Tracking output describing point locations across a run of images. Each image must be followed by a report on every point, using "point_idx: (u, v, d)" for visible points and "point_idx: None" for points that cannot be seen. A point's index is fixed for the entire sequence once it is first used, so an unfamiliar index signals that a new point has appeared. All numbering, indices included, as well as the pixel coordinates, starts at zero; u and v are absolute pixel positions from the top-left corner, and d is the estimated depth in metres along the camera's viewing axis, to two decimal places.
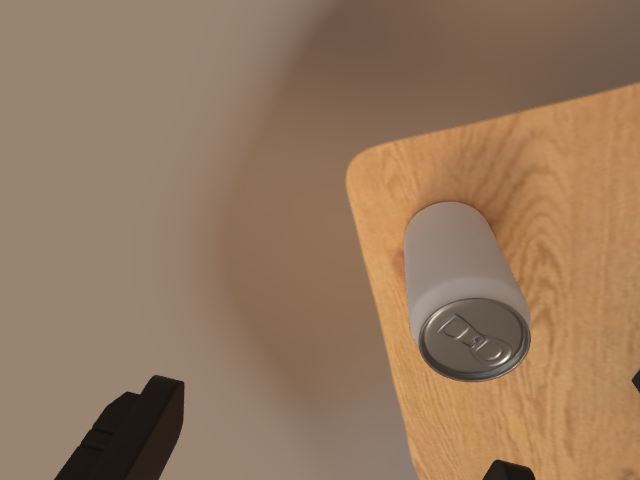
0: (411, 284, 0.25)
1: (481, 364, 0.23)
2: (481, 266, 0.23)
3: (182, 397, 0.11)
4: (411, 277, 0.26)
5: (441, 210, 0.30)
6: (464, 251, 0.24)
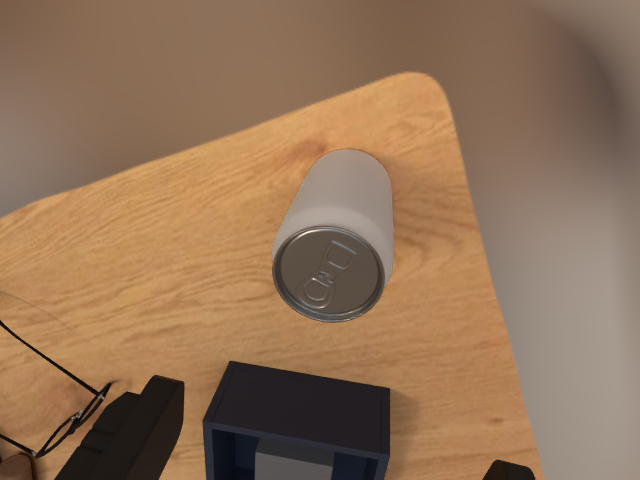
0: (348, 190, 0.23)
1: (296, 287, 0.22)
2: None
3: (182, 397, 0.11)
4: (351, 186, 0.23)
5: (390, 185, 0.29)
6: (392, 233, 0.24)
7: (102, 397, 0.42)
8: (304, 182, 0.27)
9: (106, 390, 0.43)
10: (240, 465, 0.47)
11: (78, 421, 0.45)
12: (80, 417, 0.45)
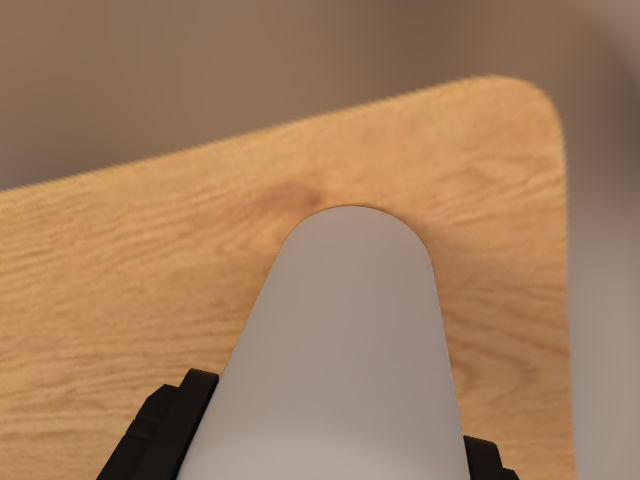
0: (375, 356, 0.09)
1: None
2: None
3: None
4: (379, 337, 0.10)
5: (435, 284, 0.16)
6: None
7: None
8: (274, 282, 0.13)
9: None
10: None
11: None
12: None
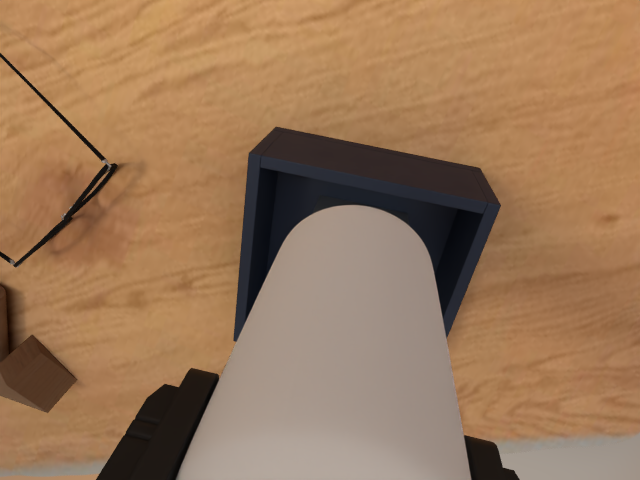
0: (375, 355, 0.09)
1: None
2: None
3: None
4: (379, 336, 0.10)
5: None
6: None
7: (107, 163, 0.32)
8: (274, 280, 0.13)
9: (112, 165, 0.34)
10: None
11: None
12: None
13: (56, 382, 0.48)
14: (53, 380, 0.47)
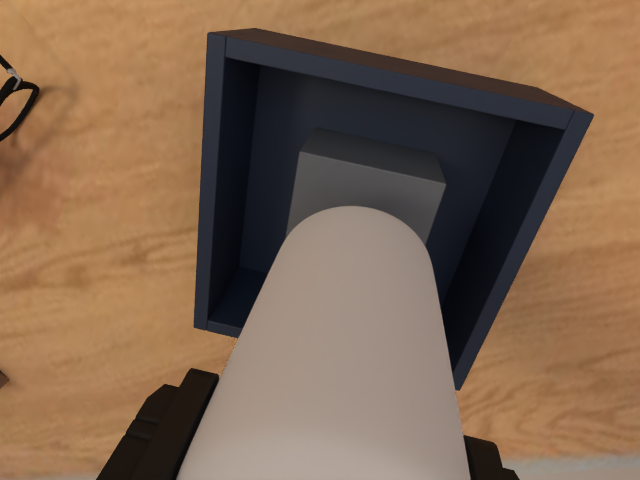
0: (375, 356, 0.09)
1: None
2: None
3: None
4: (379, 337, 0.10)
5: (435, 284, 0.15)
6: None
7: (15, 75, 0.23)
8: (274, 281, 0.13)
9: (27, 83, 0.24)
10: (247, 264, 0.29)
11: None
12: None
13: None
14: None
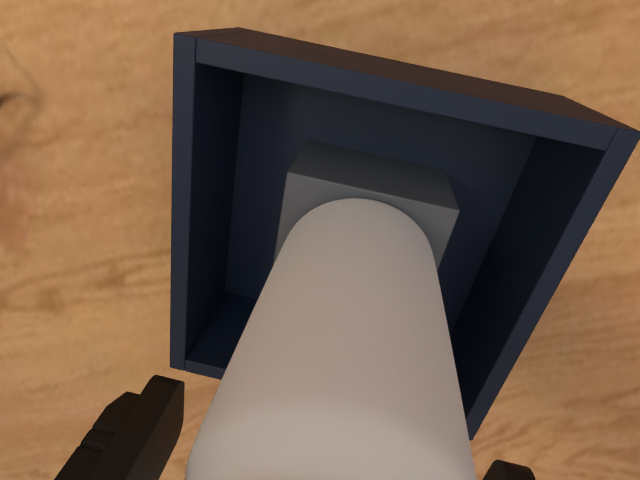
0: (380, 336, 0.10)
1: None
2: None
3: (182, 397, 0.11)
4: (384, 319, 0.10)
5: (437, 274, 0.16)
6: None
7: None
8: (281, 269, 0.13)
9: None
10: (234, 290, 0.26)
11: None
12: None
13: None
14: None
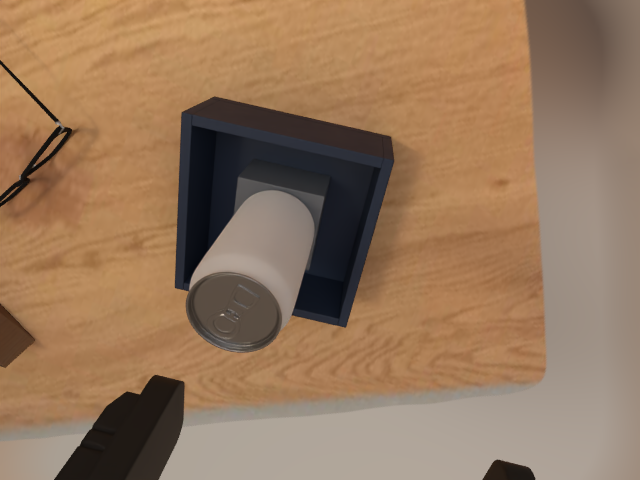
0: (261, 238, 0.26)
1: (207, 320, 0.25)
2: (296, 298, 0.26)
3: (182, 397, 0.11)
4: (265, 233, 0.27)
5: (310, 227, 0.32)
6: (300, 276, 0.27)
7: (60, 125, 0.36)
8: (230, 221, 0.30)
9: (65, 128, 0.38)
10: None
11: (29, 172, 0.39)
12: (31, 169, 0.39)
13: (14, 341, 0.51)
14: (11, 338, 0.50)
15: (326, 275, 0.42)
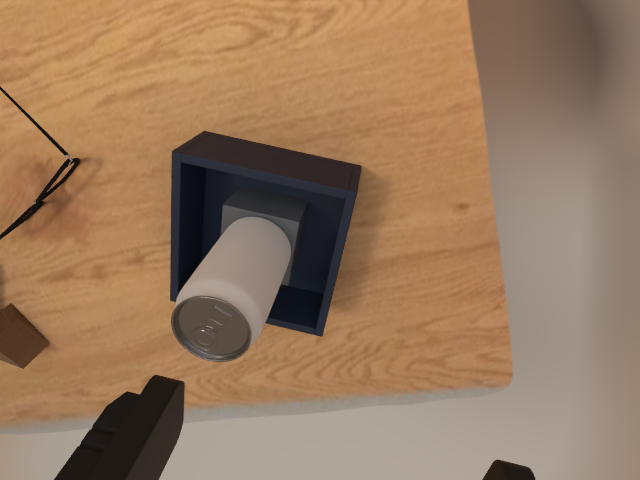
0: (236, 264, 0.30)
1: (190, 334, 0.30)
2: (266, 315, 0.31)
3: (182, 397, 0.11)
4: (240, 260, 0.31)
5: (286, 249, 0.37)
6: (271, 295, 0.32)
7: (69, 157, 0.41)
8: (213, 246, 0.34)
9: (74, 159, 0.42)
10: None
11: (42, 197, 0.44)
12: (45, 194, 0.44)
13: (31, 344, 0.56)
14: (28, 342, 0.56)
15: (308, 287, 0.47)
